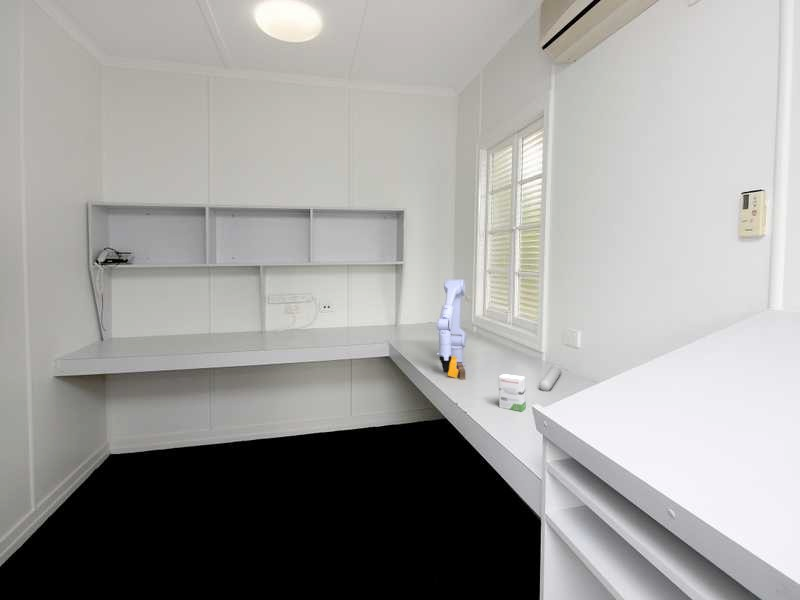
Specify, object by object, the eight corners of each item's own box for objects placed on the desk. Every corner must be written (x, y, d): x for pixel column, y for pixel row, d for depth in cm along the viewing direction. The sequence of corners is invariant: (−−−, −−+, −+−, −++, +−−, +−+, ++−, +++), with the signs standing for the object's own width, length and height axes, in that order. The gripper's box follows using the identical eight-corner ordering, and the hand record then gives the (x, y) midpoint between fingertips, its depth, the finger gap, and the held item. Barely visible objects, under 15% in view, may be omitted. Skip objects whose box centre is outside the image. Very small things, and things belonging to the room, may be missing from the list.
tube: (553, 383, 162) (563, 367, 183) (540, 378, 164) (551, 362, 185) (548, 395, 163) (559, 378, 184) (535, 389, 165) (548, 373, 187)
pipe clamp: (456, 378, 186) (460, 364, 185) (447, 375, 186) (451, 362, 186) (456, 370, 198) (460, 358, 197) (448, 368, 198) (451, 355, 197)
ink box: (526, 407, 147) (526, 376, 146) (521, 412, 143) (521, 379, 142) (503, 403, 153) (503, 372, 151) (498, 407, 149) (498, 376, 147)
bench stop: (456, 369, 200) (456, 361, 199) (461, 369, 199) (461, 361, 199) (460, 379, 184) (459, 371, 183) (465, 379, 183) (465, 370, 183)
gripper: (436, 340, 198) (436, 367, 199) (437, 347, 183) (437, 376, 185) (450, 340, 197) (451, 367, 199) (452, 346, 183) (453, 376, 184)
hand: (445, 371), depth 192 cm, fingers closed
